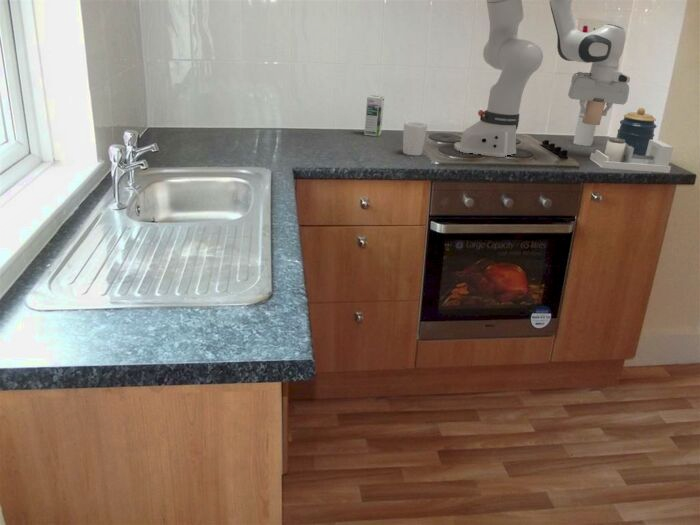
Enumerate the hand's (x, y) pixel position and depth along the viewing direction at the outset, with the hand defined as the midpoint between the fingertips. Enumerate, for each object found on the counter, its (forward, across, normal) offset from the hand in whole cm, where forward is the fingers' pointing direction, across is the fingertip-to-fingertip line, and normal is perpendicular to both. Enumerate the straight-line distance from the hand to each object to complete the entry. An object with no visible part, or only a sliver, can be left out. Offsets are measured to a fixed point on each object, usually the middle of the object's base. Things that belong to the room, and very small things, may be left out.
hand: (593, 114), depth 228 cm
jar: (+3, 0, 0) cm, 3 cm away
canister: (+15, +22, +11) cm, 29 cm away
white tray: (+15, +13, -11) cm, 23 cm away
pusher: (+14, +15, -11) cm, 23 cm away
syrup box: (+18, -77, +14) cm, 80 cm away
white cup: (+18, -64, -13) cm, 67 cm away
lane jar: (+15, +6, -11) cm, 20 cm away
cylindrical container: (+15, +8, +25) cm, 31 cm away
